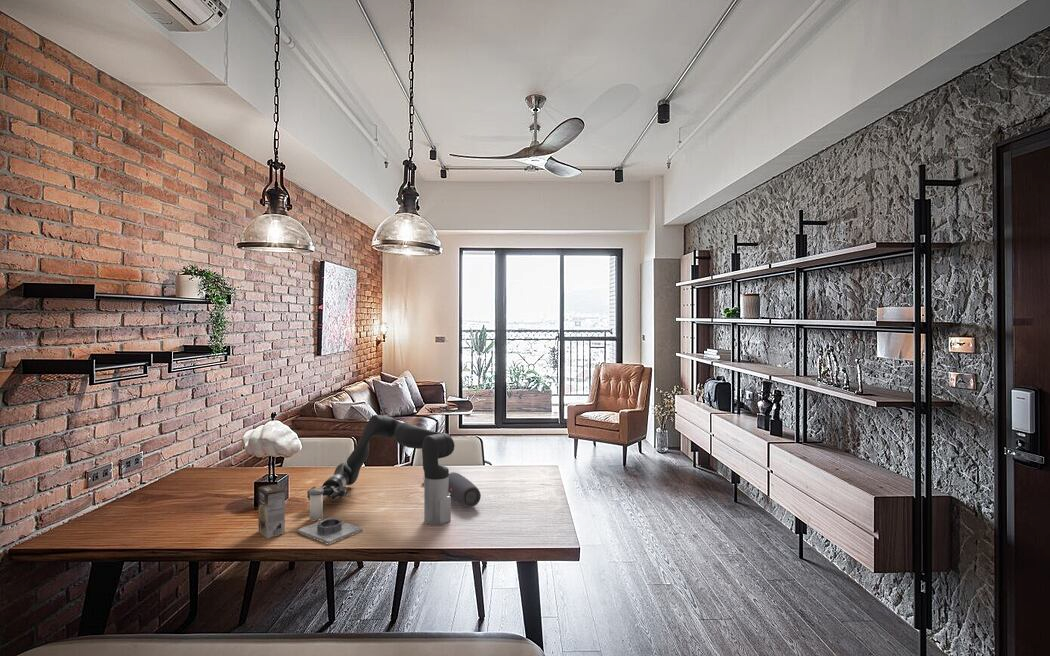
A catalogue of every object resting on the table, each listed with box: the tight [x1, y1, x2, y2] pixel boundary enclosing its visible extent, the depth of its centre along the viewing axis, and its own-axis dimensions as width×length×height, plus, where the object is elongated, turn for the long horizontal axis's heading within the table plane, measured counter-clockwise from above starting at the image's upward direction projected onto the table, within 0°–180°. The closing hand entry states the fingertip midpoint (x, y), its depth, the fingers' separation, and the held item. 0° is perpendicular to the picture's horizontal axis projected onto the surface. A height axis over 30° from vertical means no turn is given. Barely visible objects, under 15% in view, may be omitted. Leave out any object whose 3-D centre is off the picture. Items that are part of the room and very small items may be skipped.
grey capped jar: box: [308, 487, 324, 521], centre depth 201 cm, size 5×5×11 cm
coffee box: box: [257, 483, 286, 539], centre depth 188 cm, size 9×6×16 cm
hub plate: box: [296, 516, 363, 545], centre depth 189 cm, size 18×14×3 cm
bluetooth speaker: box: [449, 472, 482, 508], centre depth 222 cm, size 23×9×10 cm, turn 27°
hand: (320, 498), depth 206 cm, fingers open, 8 cm apart
